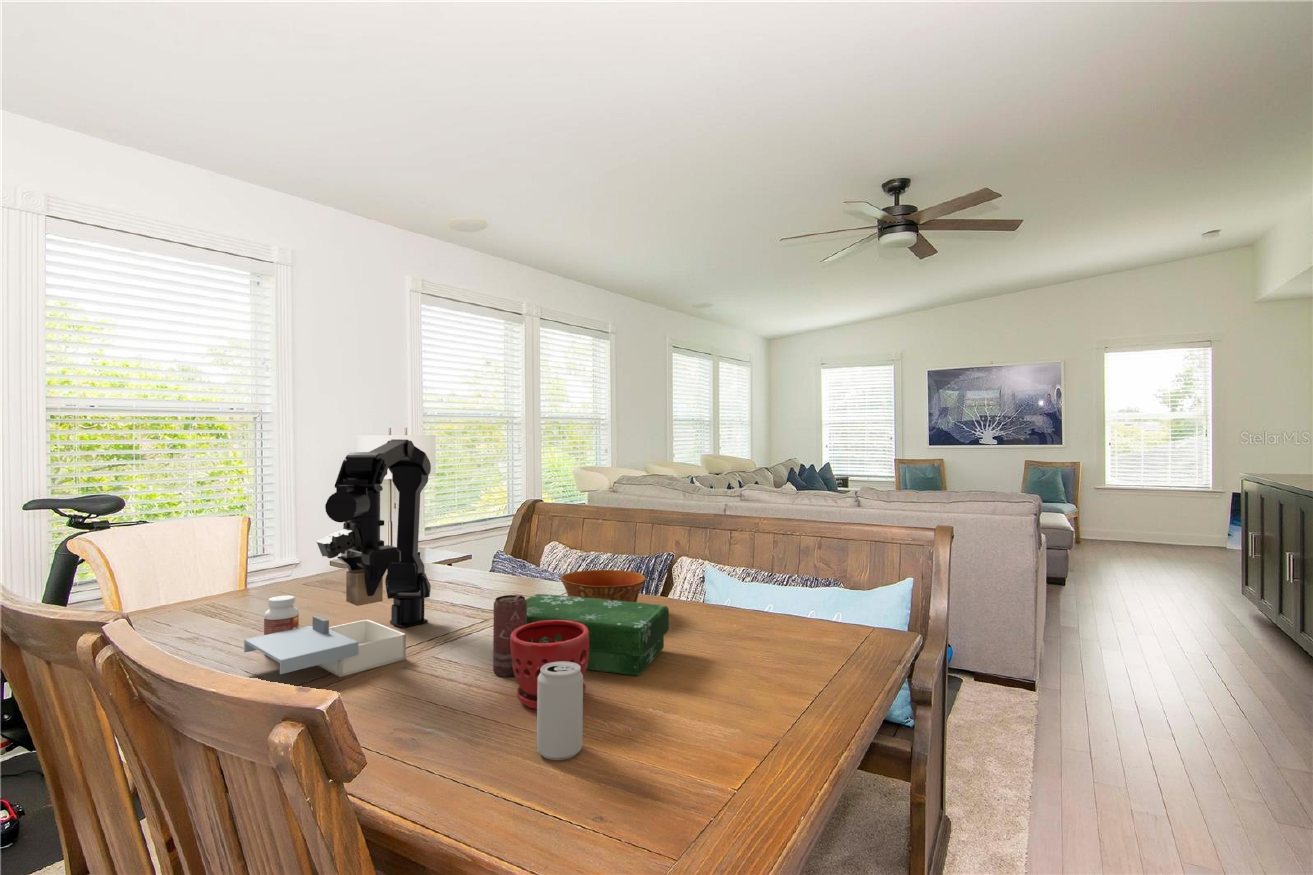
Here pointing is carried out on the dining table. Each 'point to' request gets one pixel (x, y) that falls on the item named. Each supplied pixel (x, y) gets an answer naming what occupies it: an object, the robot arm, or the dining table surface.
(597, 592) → the bowl
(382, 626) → the box
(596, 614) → the box
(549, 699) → the beverage can
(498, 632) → the can
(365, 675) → the dining table surface
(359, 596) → the walnut block
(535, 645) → the plant pot
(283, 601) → the pill bottle
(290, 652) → the lid
